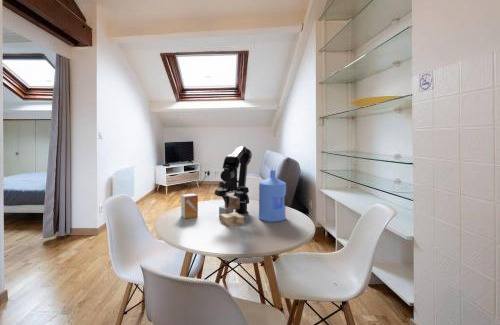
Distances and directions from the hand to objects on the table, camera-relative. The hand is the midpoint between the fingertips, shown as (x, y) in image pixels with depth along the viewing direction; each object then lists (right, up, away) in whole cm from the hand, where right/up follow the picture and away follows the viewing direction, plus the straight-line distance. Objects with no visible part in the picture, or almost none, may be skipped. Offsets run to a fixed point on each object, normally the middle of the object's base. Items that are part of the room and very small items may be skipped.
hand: (232, 206), depth 141 cm
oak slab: (0, -9, +1) cm, 9 cm away
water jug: (+23, -8, +8) cm, 26 cm away
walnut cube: (0, -1, 0) cm, 1 cm away
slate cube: (-4, -8, +10) cm, 13 cm away
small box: (-26, -8, +10) cm, 29 cm away
